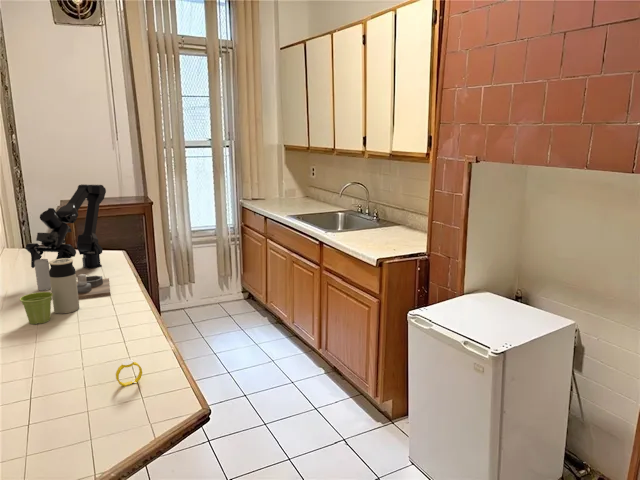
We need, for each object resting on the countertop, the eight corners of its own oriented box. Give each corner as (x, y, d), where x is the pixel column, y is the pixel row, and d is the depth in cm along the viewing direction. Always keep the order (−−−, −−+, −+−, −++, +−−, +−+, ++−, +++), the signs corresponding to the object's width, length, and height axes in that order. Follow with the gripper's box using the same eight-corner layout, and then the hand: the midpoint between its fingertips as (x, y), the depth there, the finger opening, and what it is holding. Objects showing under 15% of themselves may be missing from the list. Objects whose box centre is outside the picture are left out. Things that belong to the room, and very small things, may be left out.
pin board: (66, 285, 194) (64, 268, 192) (109, 280, 200) (107, 263, 199) (63, 300, 176) (61, 281, 174) (110, 295, 183) (108, 276, 181)
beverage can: (47, 291, 187) (43, 261, 184) (35, 291, 187) (31, 261, 185) (54, 287, 192) (50, 258, 189) (42, 287, 192) (38, 258, 189)
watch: (119, 390, 115) (115, 368, 114) (116, 385, 117) (112, 364, 116) (144, 381, 118) (141, 360, 117) (141, 377, 121) (137, 356, 119)
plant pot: (16, 324, 155) (12, 298, 153) (42, 314, 163) (39, 290, 161) (36, 328, 151) (33, 302, 149) (62, 318, 160) (59, 293, 158)
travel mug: (84, 308, 169) (79, 259, 165) (64, 315, 162) (58, 264, 158) (69, 304, 172) (63, 256, 168) (48, 312, 165) (42, 262, 161)
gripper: (25, 223, 191) (8, 256, 182) (68, 224, 189) (54, 258, 180) (40, 238, 200) (25, 271, 192) (82, 239, 198) (69, 272, 190)
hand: (43, 267), depth 188 cm, fingers open, 9 cm apart
